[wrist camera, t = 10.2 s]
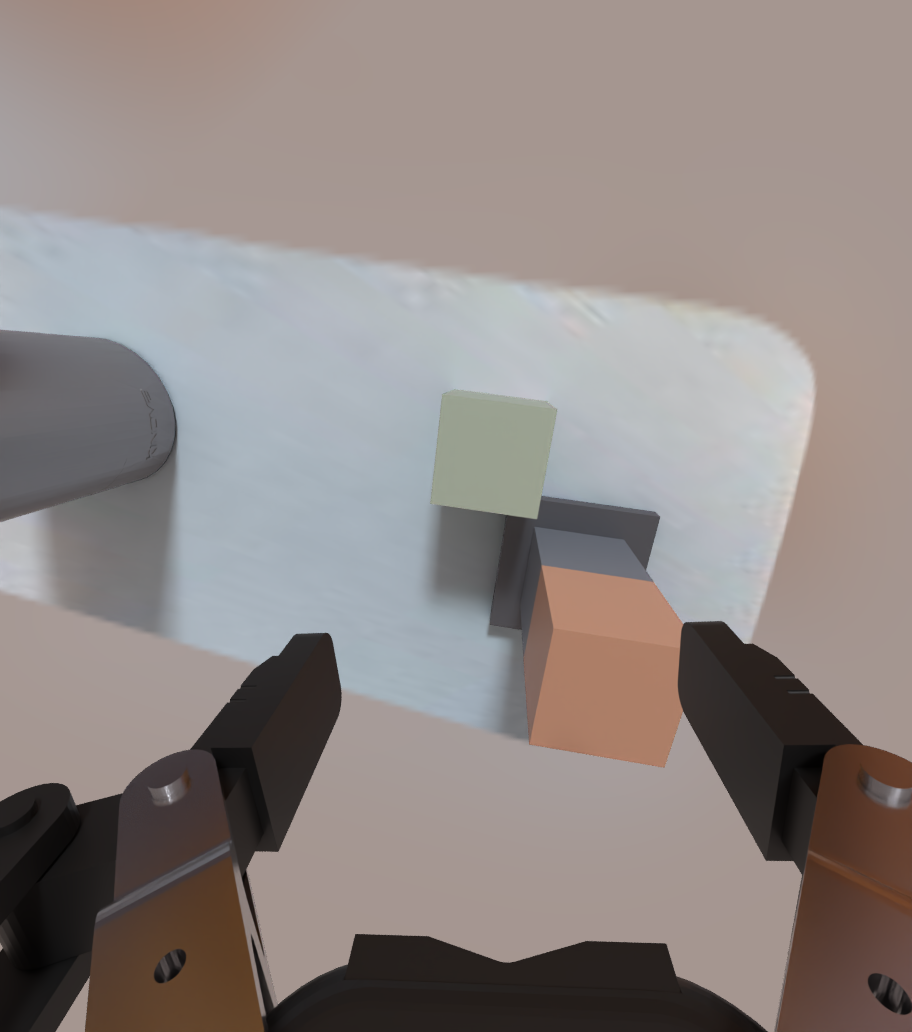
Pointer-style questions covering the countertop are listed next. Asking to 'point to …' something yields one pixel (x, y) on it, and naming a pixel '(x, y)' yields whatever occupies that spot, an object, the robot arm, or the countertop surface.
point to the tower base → (566, 520)
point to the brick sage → (492, 452)
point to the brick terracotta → (602, 667)
